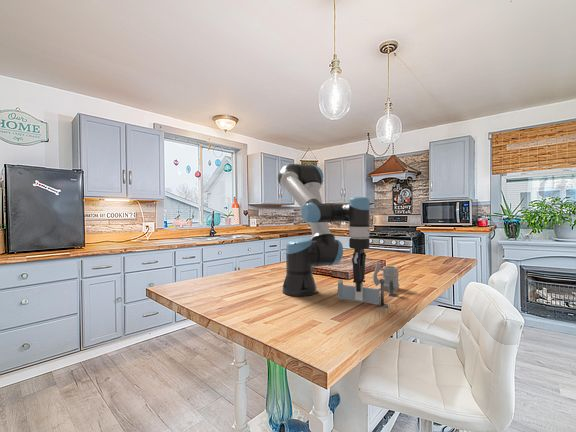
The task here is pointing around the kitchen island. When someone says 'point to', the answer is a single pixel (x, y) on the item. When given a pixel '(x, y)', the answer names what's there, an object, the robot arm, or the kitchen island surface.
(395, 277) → the mug
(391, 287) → the stop post
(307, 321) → the kitchen island surface
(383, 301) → the hinge post
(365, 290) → the gate
